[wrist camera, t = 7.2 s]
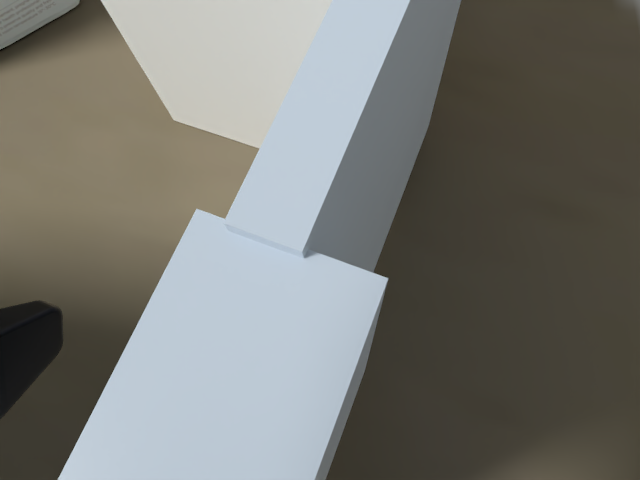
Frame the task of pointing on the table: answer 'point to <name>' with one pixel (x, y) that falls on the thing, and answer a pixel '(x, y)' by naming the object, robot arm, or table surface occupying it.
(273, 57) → the large white box
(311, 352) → the camera side door
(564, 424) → the table surface
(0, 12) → the supplement box
